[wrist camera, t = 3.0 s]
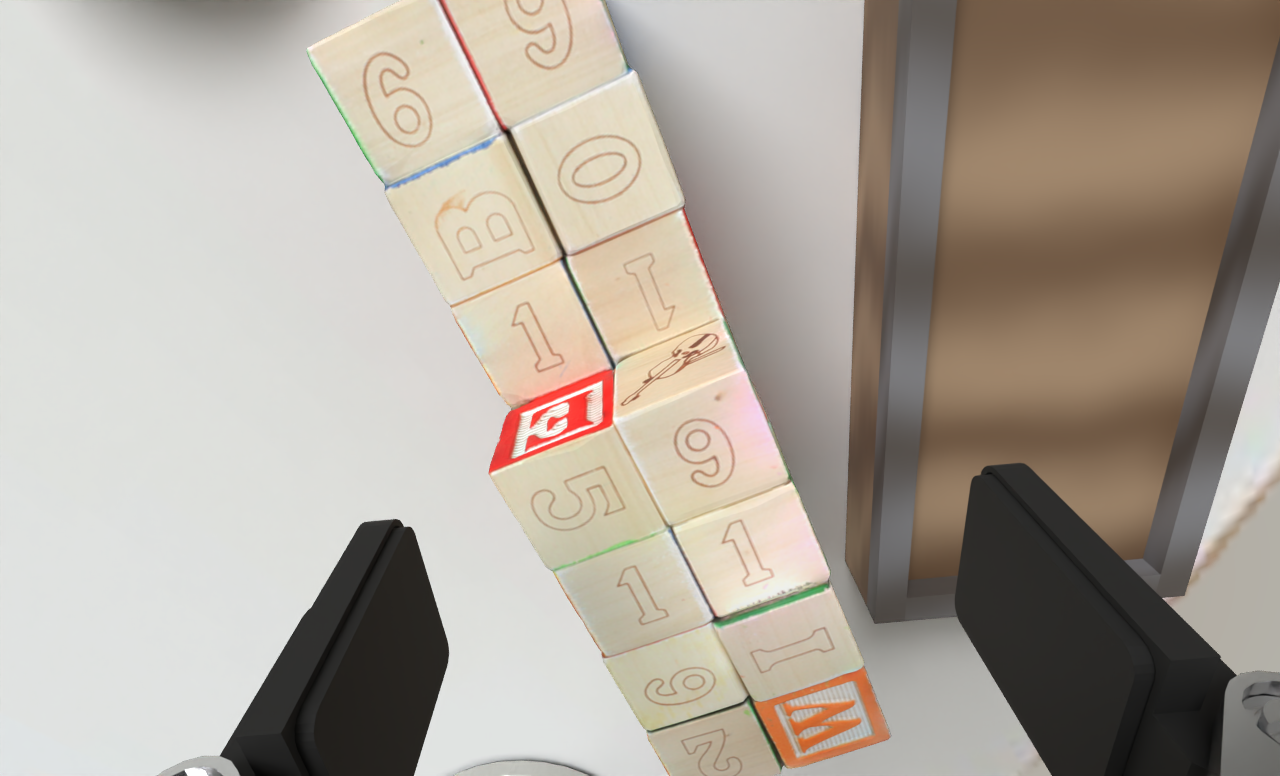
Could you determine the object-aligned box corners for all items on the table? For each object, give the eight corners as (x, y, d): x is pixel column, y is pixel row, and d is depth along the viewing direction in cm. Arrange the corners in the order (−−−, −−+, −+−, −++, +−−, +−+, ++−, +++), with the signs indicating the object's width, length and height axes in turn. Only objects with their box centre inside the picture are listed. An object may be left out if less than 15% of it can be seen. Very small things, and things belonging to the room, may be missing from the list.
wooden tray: (1117, 535, 30) (1184, 595, 27) (845, 560, 31) (874, 623, 27) (1302, -242, 19) (1462, -321, 16) (871, -192, 19) (928, -257, 16)
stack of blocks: (423, 59, 22) (212, 27, 11) (595, -25, 21) (564, -154, 10) (661, 544, 30) (684, 812, 19) (793, 497, 29) (897, 750, 18)
